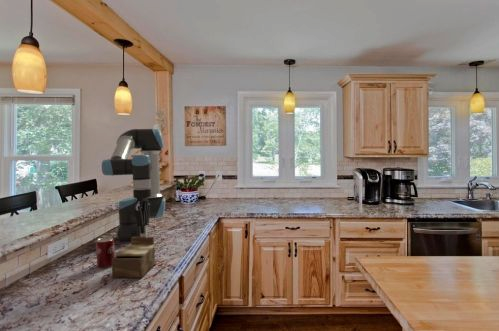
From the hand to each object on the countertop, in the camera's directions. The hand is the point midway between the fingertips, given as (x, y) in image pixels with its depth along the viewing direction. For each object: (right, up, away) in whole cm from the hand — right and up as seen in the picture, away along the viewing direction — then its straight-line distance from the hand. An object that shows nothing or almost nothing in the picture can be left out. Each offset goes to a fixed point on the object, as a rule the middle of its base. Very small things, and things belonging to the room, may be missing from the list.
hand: (144, 239), depth 134 cm
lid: (-1, -3, -7) cm, 8 cm away
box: (0, -11, -9) cm, 15 cm away
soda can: (-16, -11, -2) cm, 20 cm away
